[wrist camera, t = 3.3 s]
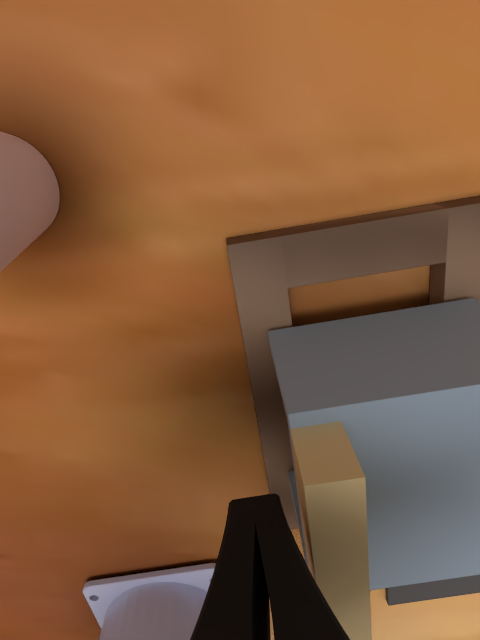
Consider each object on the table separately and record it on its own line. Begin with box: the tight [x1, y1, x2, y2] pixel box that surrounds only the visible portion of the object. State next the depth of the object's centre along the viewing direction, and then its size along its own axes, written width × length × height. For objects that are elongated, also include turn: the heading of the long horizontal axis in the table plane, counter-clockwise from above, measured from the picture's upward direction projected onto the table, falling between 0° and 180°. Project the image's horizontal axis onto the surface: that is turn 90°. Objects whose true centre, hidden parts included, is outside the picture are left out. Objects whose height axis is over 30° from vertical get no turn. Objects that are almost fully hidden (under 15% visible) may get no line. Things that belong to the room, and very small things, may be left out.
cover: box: [268, 298, 480, 640], centre depth 14 cm, size 8×8×7 cm
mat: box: [386, 575, 480, 605], centre depth 23 cm, size 7×7×1 cm
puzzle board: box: [226, 196, 480, 529], centre depth 18 cm, size 15×20×1 cm
